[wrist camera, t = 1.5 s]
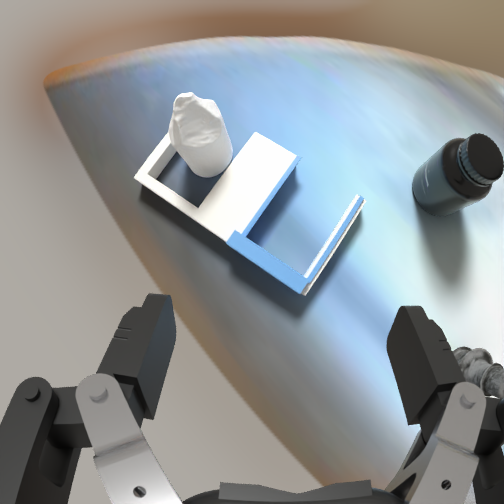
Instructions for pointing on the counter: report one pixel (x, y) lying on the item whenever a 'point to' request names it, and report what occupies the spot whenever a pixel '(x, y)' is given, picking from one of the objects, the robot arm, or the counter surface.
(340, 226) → the white rail frame
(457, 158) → the supplement bottle
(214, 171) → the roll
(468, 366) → the dark grey turned piece
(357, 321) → the counter surface
